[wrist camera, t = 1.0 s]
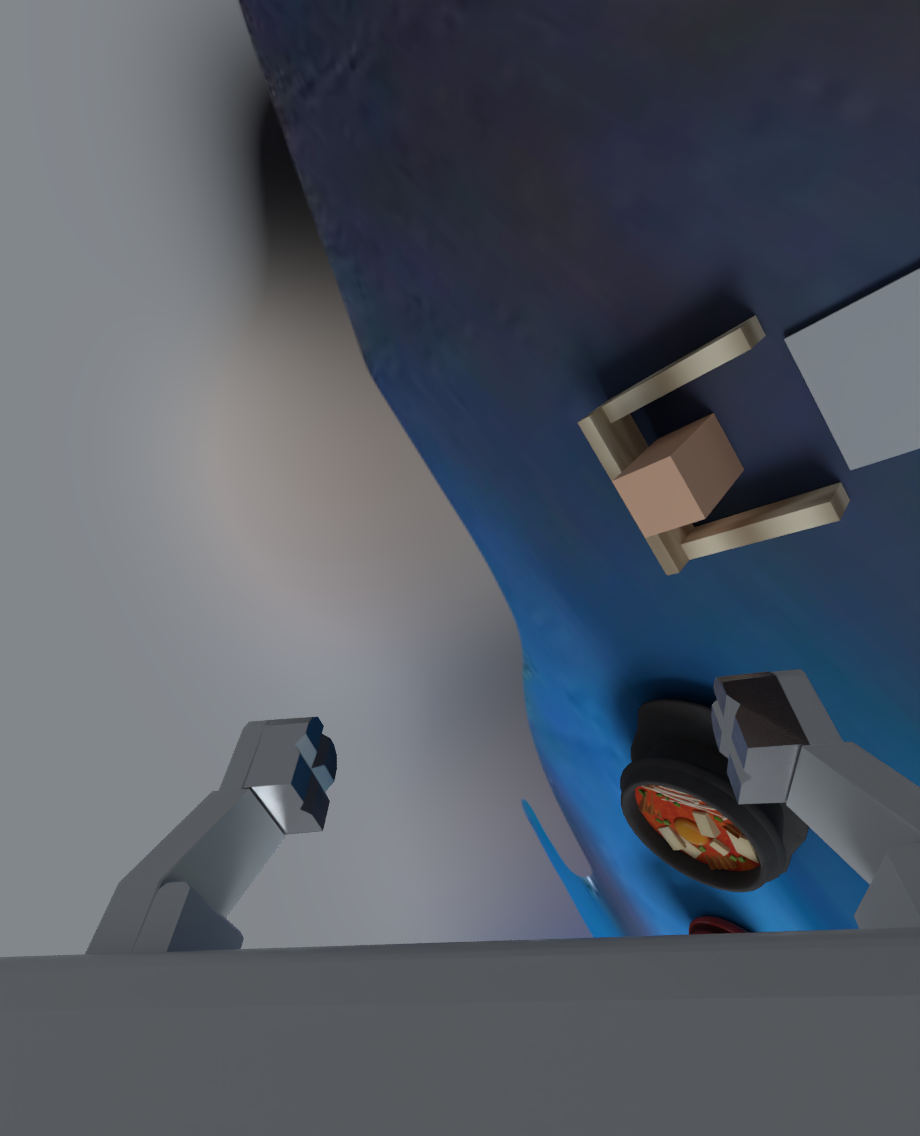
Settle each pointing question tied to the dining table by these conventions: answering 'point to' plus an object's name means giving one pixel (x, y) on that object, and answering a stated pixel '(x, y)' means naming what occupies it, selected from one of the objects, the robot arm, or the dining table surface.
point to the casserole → (701, 803)
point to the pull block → (679, 477)
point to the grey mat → (867, 371)
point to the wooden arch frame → (625, 443)
